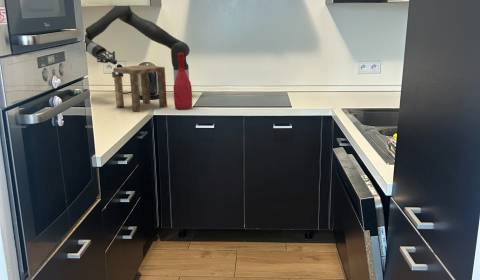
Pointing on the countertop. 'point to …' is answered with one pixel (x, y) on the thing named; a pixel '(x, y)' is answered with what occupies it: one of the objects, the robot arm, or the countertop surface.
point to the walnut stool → (144, 83)
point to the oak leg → (119, 91)
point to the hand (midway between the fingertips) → (115, 62)
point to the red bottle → (182, 87)
